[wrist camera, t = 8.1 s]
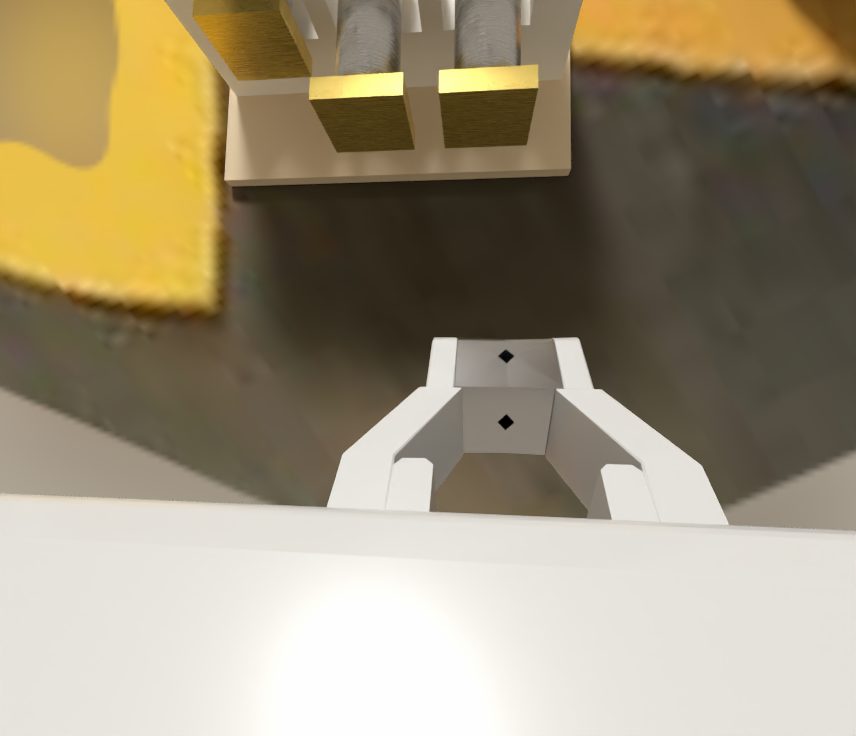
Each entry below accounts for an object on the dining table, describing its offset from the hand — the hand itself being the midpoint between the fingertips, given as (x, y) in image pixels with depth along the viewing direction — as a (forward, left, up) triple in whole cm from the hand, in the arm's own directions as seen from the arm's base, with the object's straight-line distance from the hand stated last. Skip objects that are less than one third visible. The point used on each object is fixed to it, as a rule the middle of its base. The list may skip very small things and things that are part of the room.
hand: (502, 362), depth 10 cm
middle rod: (+1, +18, -12) cm, 21 cm away
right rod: (+6, +16, -12) cm, 21 cm away
